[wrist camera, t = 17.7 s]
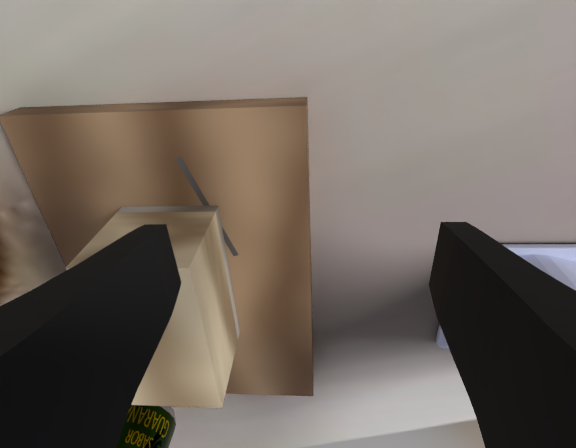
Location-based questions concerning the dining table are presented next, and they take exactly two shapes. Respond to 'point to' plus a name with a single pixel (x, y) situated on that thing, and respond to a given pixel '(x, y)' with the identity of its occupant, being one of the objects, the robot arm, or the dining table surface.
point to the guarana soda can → (147, 427)
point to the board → (194, 203)
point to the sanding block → (186, 307)
